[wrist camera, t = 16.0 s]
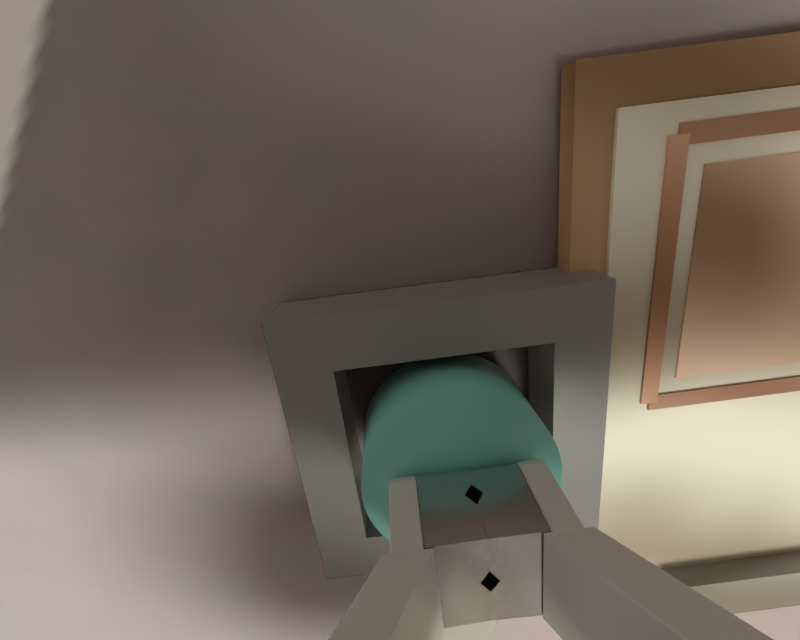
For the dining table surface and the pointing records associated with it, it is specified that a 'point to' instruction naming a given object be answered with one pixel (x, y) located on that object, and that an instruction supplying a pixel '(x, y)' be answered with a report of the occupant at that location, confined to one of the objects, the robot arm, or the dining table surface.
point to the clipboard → (695, 303)
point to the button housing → (427, 339)
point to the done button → (447, 426)
